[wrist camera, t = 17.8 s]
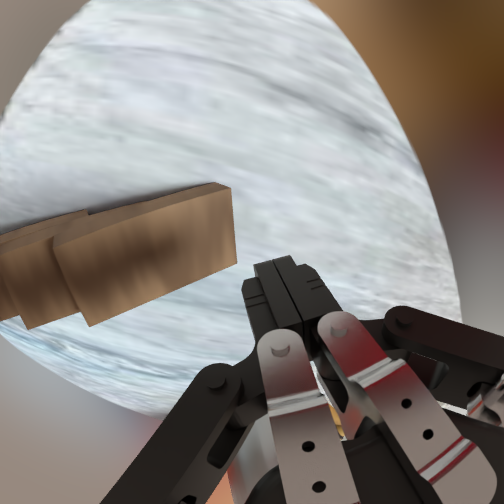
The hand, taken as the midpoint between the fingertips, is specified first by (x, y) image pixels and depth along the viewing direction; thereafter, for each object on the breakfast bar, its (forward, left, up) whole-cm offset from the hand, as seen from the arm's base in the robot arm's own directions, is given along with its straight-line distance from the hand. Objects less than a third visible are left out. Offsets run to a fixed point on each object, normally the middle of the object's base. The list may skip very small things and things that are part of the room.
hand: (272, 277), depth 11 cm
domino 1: (0, +1, -7) cm, 7 cm away
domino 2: (0, +6, -7) cm, 9 cm away
